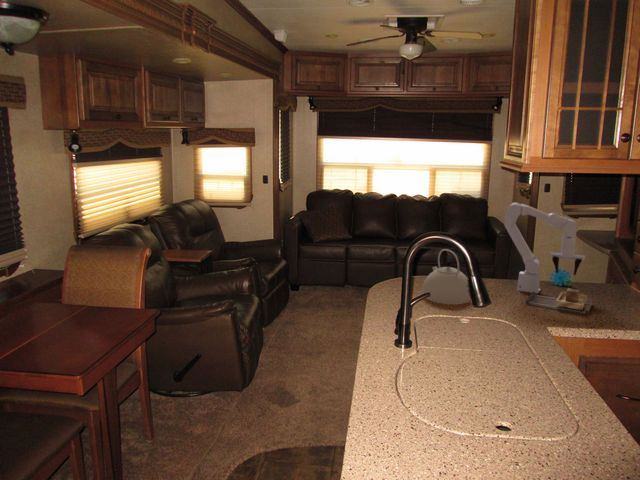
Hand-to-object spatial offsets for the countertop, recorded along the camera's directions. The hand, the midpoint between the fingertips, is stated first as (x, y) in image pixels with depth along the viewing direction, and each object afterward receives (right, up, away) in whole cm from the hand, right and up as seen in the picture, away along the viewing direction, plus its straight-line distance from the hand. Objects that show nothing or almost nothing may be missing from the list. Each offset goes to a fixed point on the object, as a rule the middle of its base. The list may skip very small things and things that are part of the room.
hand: (565, 273), depth 243 cm
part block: (-5, -11, -15) cm, 19 cm away
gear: (+6, -7, +19) cm, 21 cm away
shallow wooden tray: (-5, -13, -15) cm, 20 cm away
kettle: (-57, -11, 0) cm, 58 cm away
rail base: (-9, -13, -12) cm, 20 cm away
